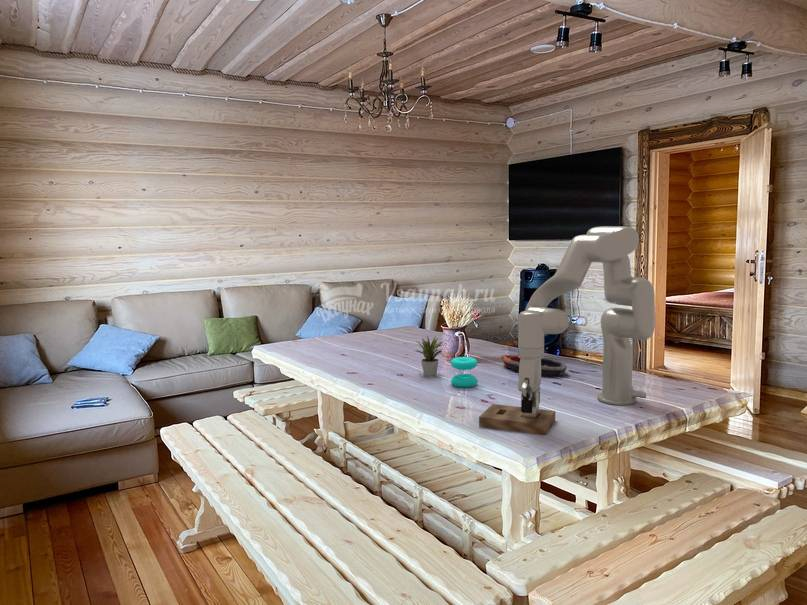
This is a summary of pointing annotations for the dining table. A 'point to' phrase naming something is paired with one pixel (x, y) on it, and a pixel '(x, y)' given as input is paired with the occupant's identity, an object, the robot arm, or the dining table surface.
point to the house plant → (430, 357)
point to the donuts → (464, 379)
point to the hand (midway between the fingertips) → (530, 408)
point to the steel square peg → (534, 406)
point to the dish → (547, 365)
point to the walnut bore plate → (516, 419)
